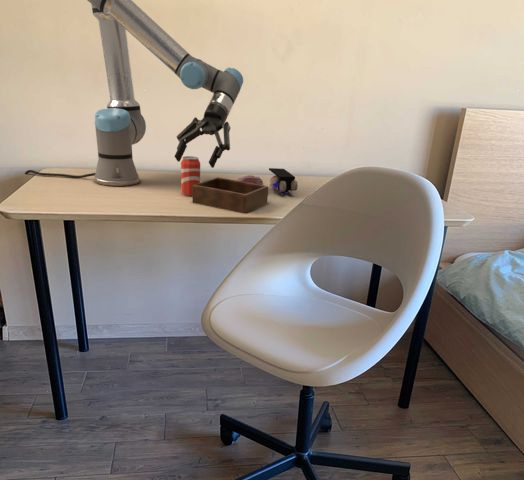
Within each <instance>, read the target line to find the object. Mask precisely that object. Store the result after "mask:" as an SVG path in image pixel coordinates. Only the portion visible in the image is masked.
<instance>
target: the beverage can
mask: <svg viewBox="0 0 524 480" xmlns="http://www.w3.org/2000/svg"><path fill="white" fill-rule="evenodd" d="M200 182H201V161H200V160H199V157H197V156H192V155H190V156H189V155H187V156H182V159H181V161H180V183H181V184H180V187H181V188H180V189H181V190H180V191H181V194H183V195H184V196H186V197H193V187H192V185H194V184H197V183H200Z"/></svg>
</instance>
